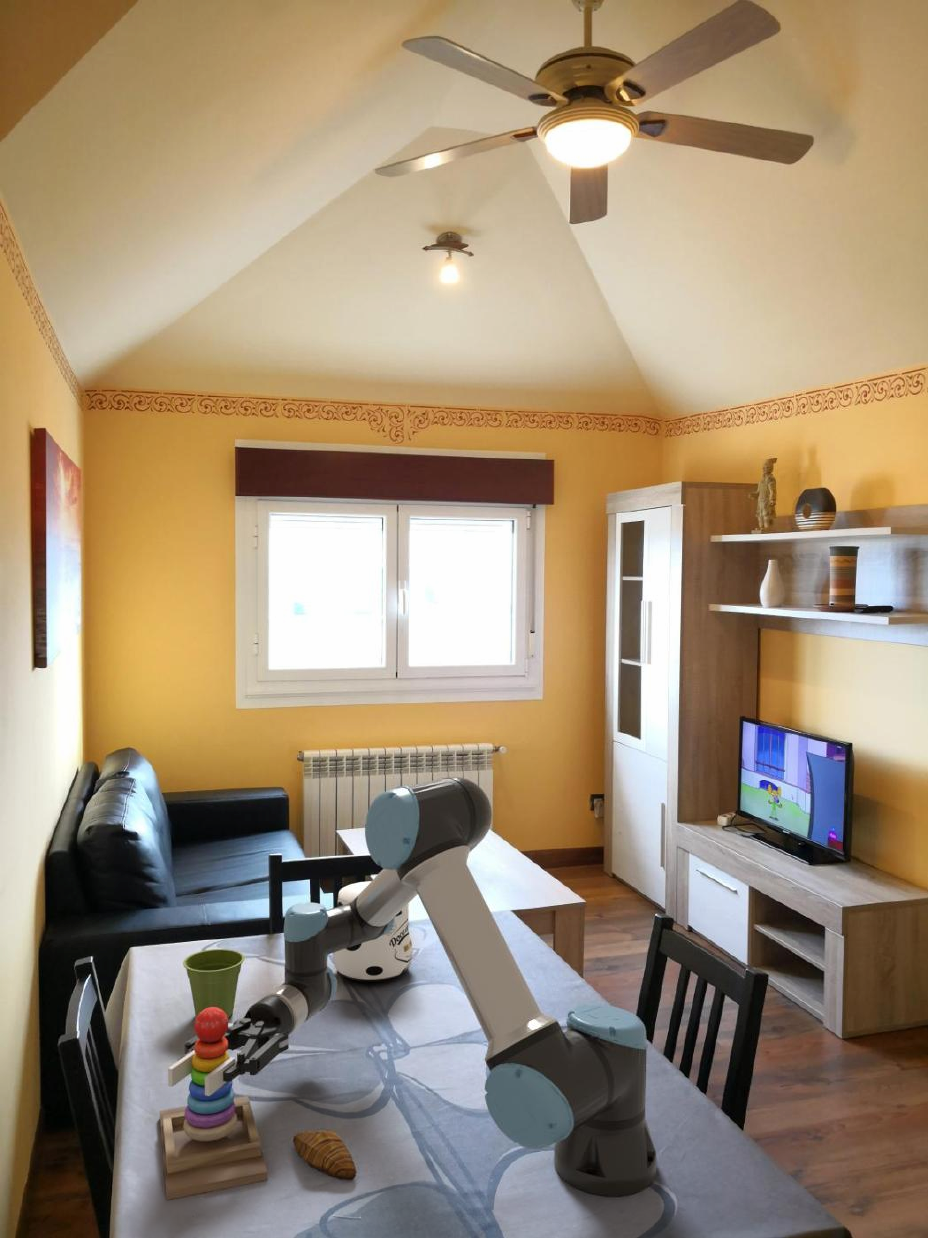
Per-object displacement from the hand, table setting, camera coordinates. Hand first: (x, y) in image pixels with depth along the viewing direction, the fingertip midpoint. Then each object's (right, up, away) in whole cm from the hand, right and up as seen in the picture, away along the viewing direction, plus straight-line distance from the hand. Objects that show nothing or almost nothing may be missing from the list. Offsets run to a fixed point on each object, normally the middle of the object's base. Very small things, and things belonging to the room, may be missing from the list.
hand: (188, 1082), depth 146 cm
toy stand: (+2, -13, +5) cm, 14 cm away
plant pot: (-9, -10, +50) cm, 52 cm away
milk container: (+21, -10, +72) cm, 75 cm away
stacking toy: (+2, -10, +5) cm, 11 cm away
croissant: (+20, -13, +1) cm, 24 cm away
